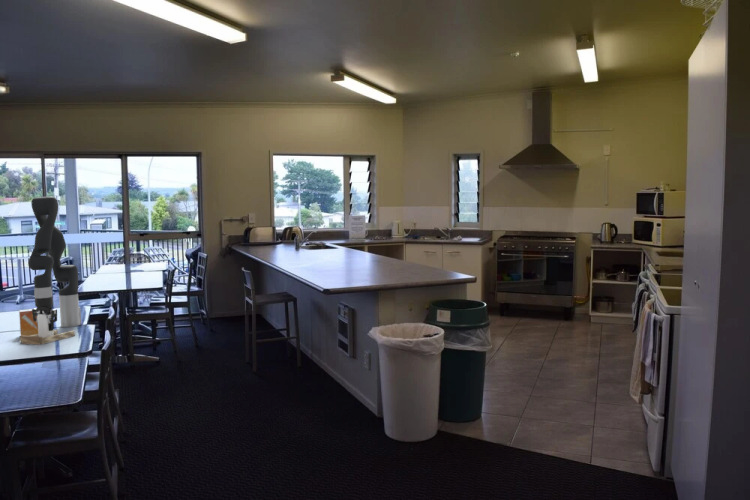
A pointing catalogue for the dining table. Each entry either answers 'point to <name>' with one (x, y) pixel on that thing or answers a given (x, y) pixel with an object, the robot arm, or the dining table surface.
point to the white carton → (44, 326)
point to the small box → (27, 323)
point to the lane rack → (39, 340)
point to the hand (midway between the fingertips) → (45, 330)
